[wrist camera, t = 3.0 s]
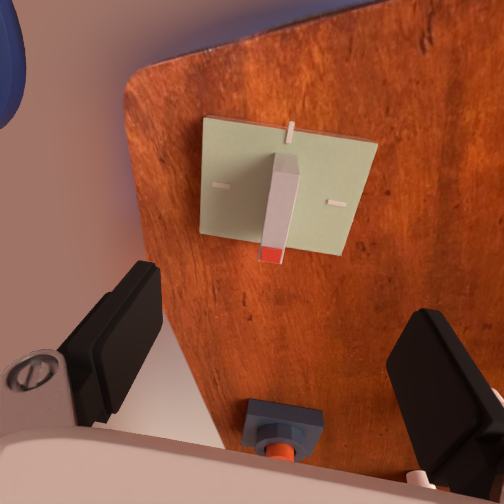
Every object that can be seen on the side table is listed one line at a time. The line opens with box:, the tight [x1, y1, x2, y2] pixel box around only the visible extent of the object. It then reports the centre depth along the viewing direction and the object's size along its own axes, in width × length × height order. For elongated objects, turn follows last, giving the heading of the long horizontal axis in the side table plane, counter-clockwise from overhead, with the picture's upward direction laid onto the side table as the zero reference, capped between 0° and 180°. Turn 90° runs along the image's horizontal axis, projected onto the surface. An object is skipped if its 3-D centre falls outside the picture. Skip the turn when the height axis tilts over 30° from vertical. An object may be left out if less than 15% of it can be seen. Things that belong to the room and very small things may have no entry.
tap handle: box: [258, 152, 300, 264], centre depth 20 cm, size 6×2×5 cm, turn 173°
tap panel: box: [199, 115, 378, 256], centre depth 23 cm, size 12×10×2 cm
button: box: [266, 443, 294, 462], centre depth 37 cm, size 4×4×2 cm
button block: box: [241, 399, 324, 462], centre depth 39 cm, size 10×8×4 cm
